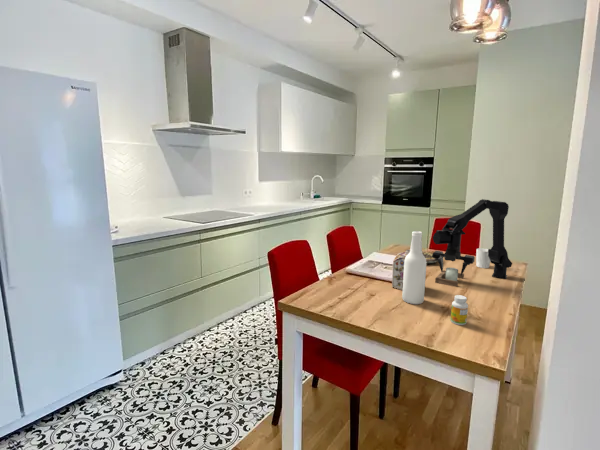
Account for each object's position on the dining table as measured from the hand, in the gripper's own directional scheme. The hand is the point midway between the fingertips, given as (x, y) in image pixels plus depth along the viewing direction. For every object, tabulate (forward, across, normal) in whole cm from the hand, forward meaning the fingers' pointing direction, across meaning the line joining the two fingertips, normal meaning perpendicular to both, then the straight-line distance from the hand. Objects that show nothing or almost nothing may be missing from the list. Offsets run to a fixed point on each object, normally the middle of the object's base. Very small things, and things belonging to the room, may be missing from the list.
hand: (451, 273), depth 169 cm
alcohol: (+4, -7, -38) cm, 39 cm away
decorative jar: (+4, -14, -23) cm, 27 cm away
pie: (+4, -23, +28) cm, 36 cm away
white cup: (+4, +9, +37) cm, 38 cm away
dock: (+4, -1, 0) cm, 4 cm away
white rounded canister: (+4, 0, 0) cm, 4 cm away
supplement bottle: (+4, +13, -48) cm, 50 cm away
